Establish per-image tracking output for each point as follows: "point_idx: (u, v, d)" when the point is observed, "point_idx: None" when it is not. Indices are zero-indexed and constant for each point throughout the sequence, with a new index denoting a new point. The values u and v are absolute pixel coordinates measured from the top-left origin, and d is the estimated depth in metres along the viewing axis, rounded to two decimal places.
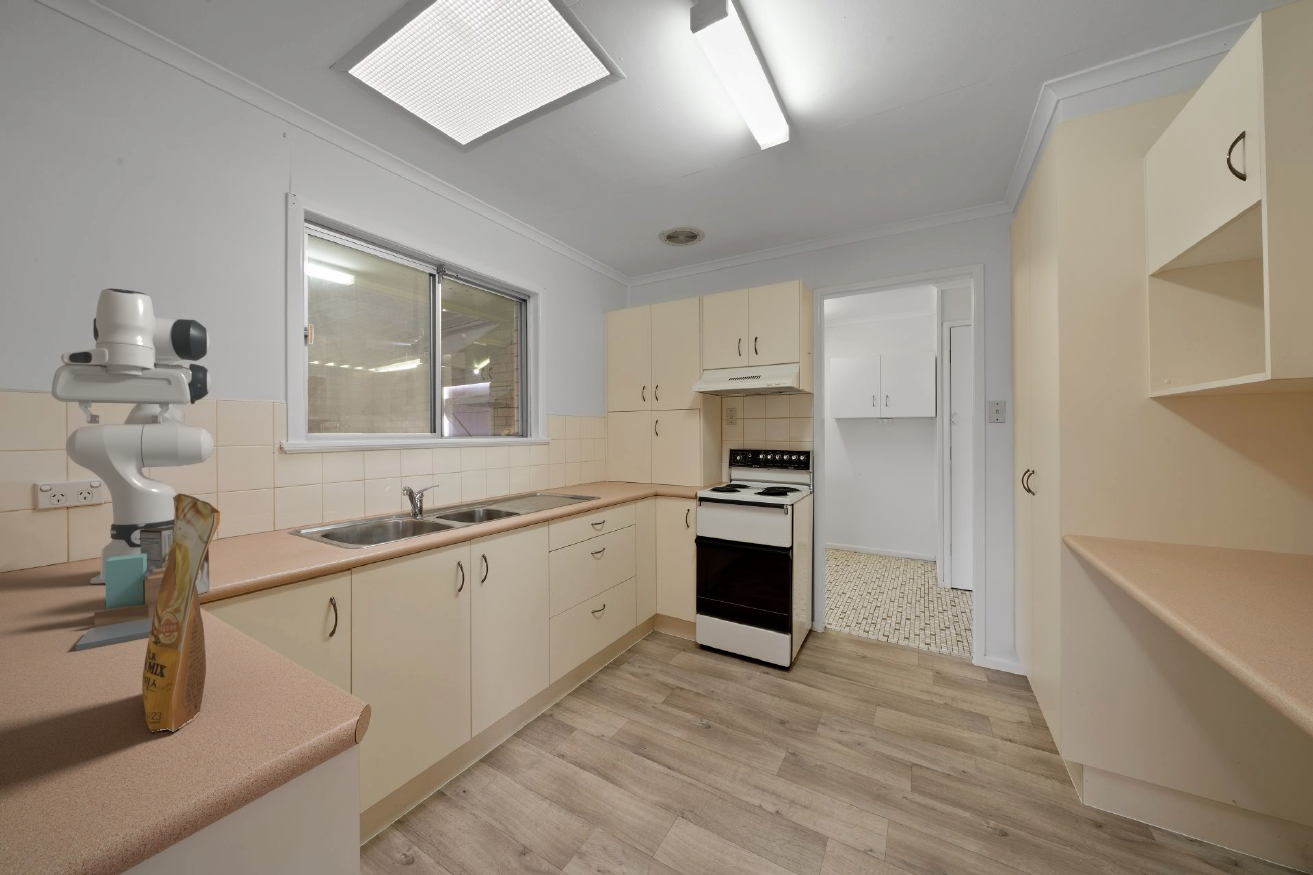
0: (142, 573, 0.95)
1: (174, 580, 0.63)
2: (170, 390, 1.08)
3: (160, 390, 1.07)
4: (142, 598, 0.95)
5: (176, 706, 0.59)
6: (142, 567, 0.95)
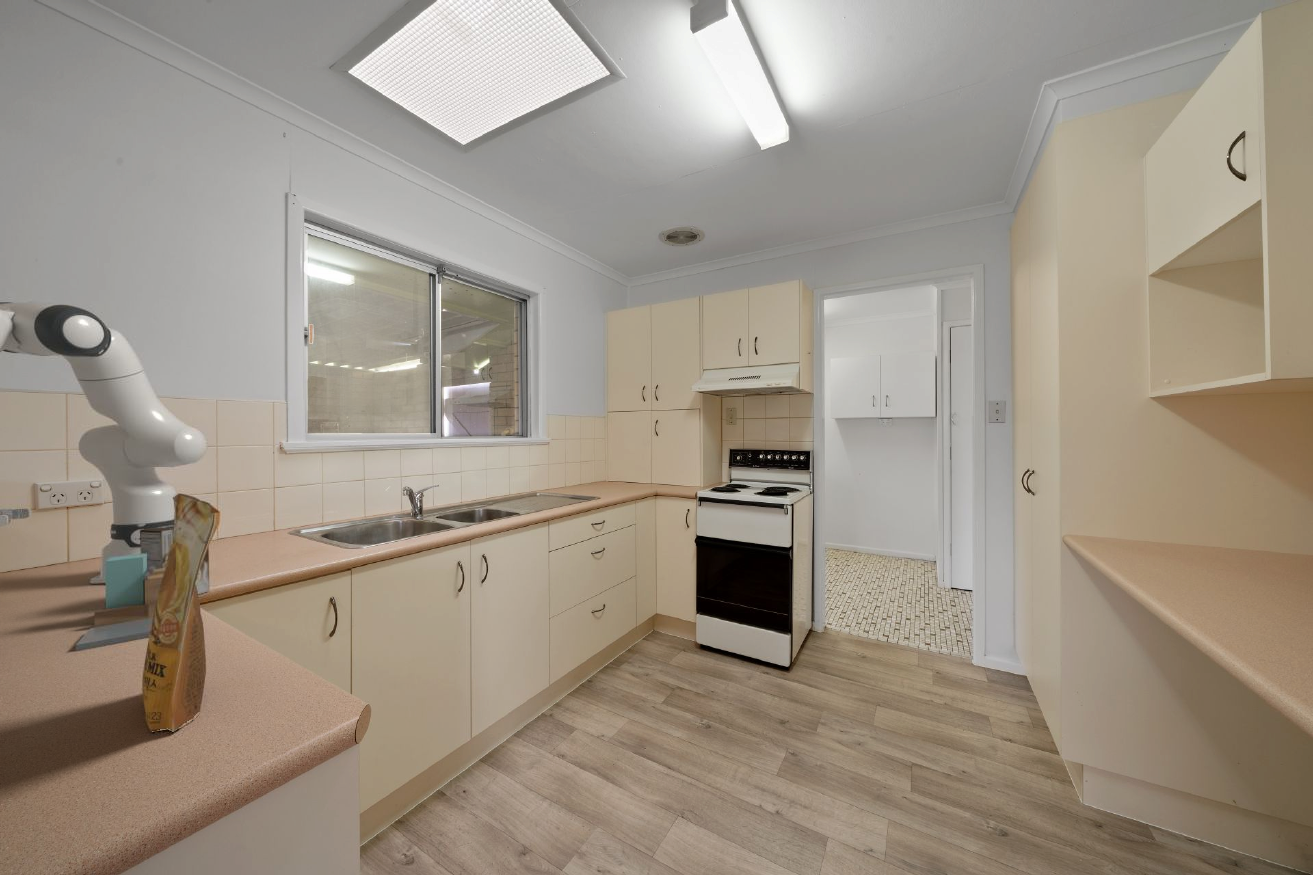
0: (142, 573, 0.95)
1: (174, 580, 0.63)
2: None
3: None
4: (142, 598, 0.95)
5: (176, 706, 0.59)
6: (142, 567, 0.95)
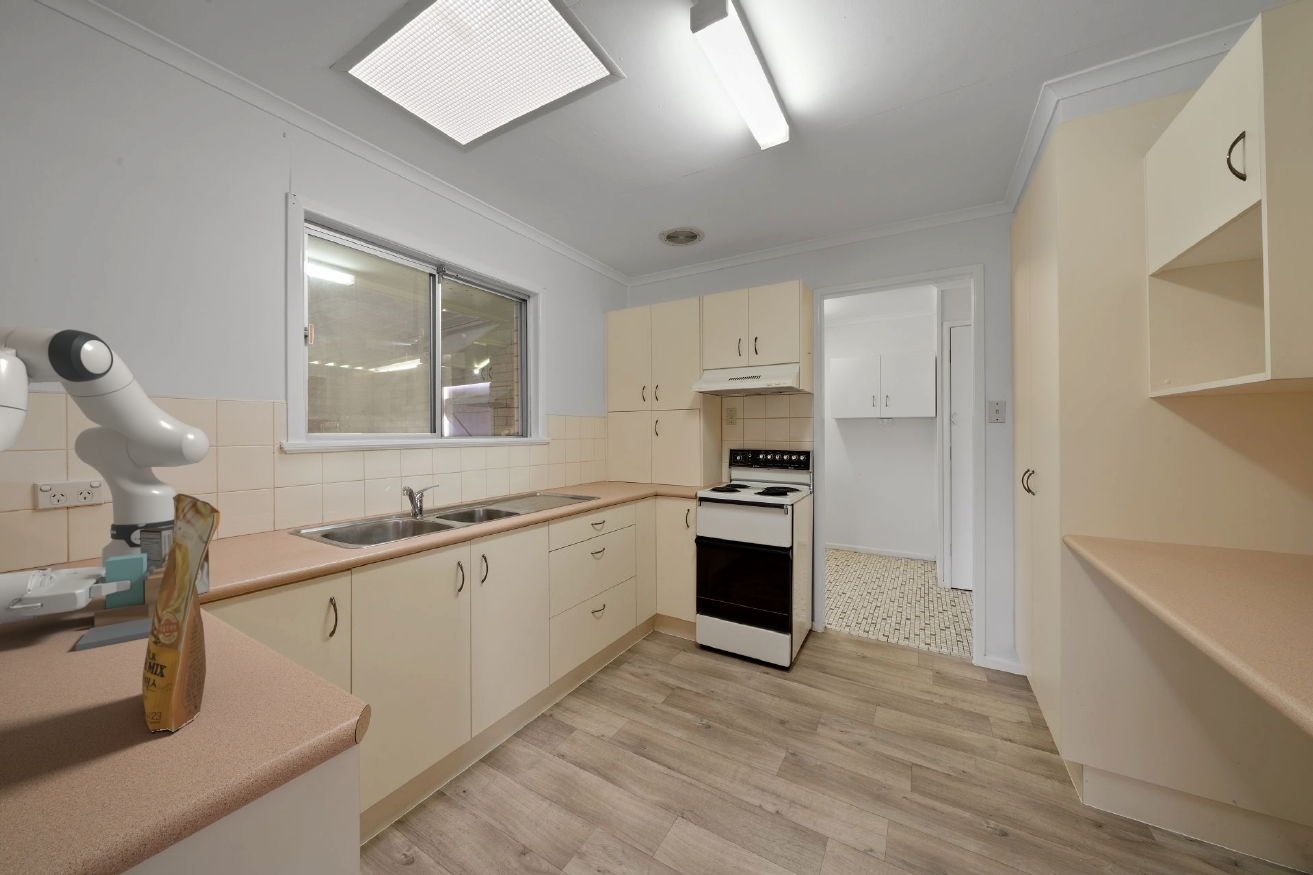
0: (142, 573, 0.95)
1: (174, 580, 0.63)
2: None
3: None
4: (142, 598, 0.95)
5: (176, 706, 0.59)
6: (142, 567, 0.95)
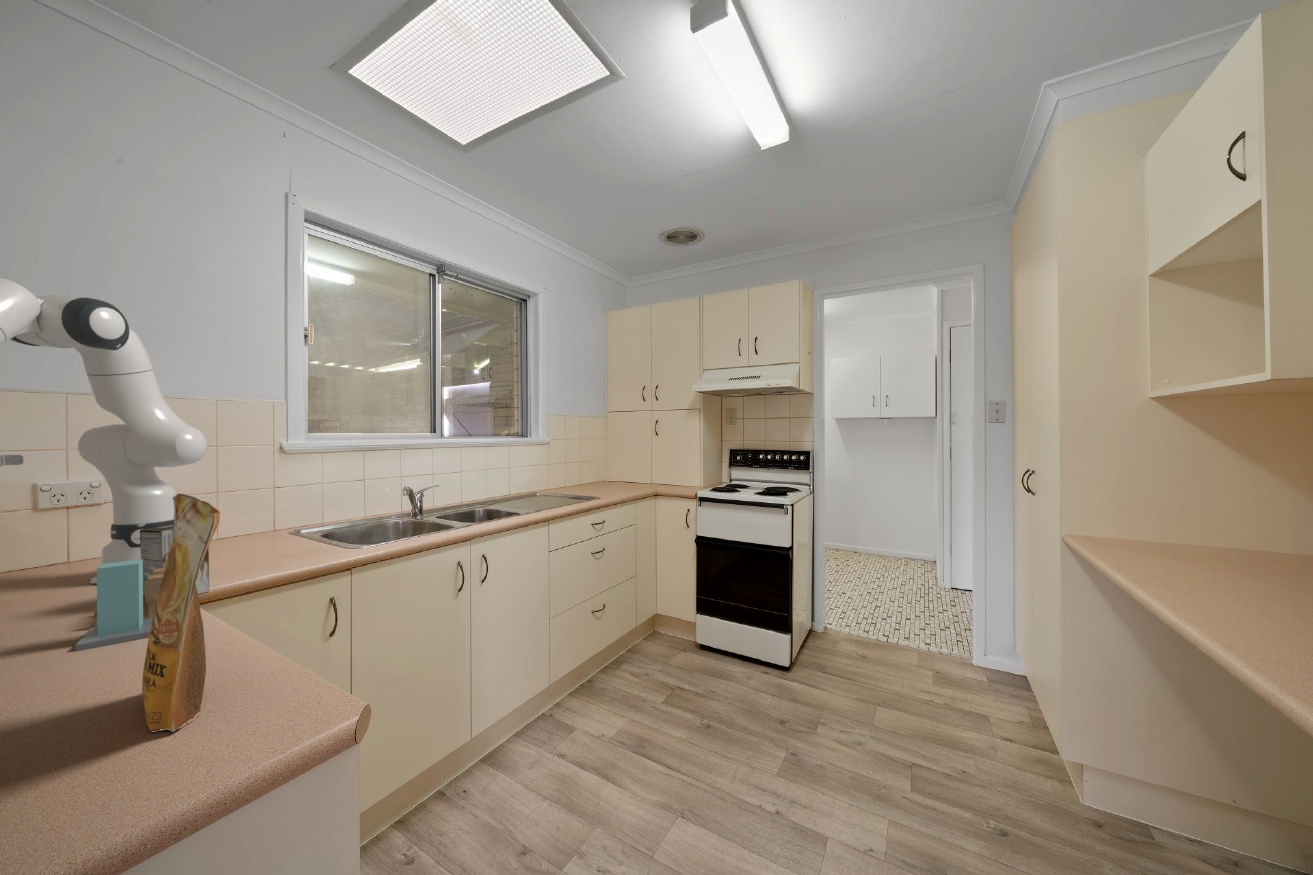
0: (137, 581, 0.87)
1: (174, 580, 0.63)
2: None
3: None
4: (137, 609, 0.87)
5: (176, 706, 0.59)
6: (137, 575, 0.87)
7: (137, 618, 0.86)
